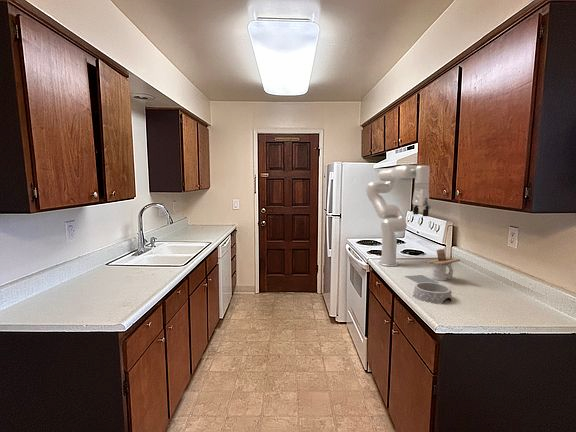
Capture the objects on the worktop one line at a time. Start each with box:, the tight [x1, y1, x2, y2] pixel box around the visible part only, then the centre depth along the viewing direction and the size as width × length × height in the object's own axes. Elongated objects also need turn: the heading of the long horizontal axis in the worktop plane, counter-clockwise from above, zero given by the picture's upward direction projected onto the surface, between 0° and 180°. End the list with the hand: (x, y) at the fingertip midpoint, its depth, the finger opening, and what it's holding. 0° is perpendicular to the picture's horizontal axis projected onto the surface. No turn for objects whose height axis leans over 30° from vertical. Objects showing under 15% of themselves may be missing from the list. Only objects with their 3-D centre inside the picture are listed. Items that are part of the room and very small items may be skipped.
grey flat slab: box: [404, 274, 440, 284], centre depth 195 cm, size 16×12×1 cm
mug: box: [431, 263, 454, 282], centre depth 196 cm, size 8×12×12 cm, turn 94°
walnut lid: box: [425, 248, 461, 266], centre depth 195 cm, size 14×12×7 cm
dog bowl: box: [412, 282, 453, 304], centre depth 169 cm, size 17×18×5 cm
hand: (420, 215), depth 204 cm, fingers open, 9 cm apart
